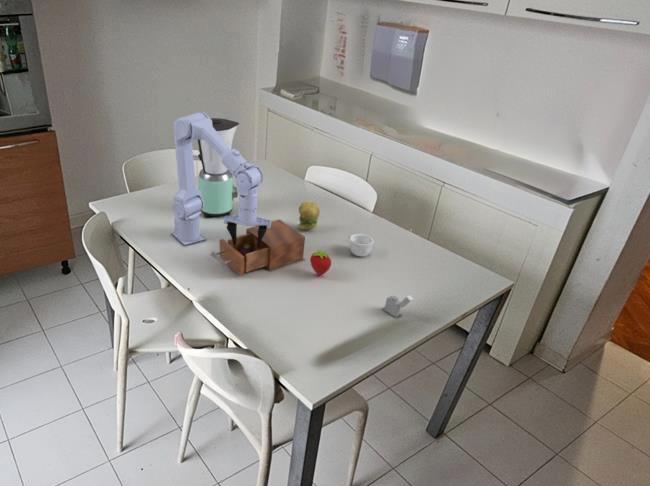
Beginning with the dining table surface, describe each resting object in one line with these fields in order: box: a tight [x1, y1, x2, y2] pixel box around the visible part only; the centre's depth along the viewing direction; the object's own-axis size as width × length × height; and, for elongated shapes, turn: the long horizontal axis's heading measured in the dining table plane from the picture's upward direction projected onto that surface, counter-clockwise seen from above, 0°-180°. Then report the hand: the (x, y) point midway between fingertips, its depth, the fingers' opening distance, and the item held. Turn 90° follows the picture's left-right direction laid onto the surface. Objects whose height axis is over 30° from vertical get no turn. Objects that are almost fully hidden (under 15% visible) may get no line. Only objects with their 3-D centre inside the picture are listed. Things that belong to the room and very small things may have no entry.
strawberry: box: [309, 249, 332, 277], centre depth 163 cm, size 6×8×10 cm
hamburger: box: [297, 201, 321, 231], centre depth 188 cm, size 8×7×12 cm
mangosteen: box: [240, 245, 253, 261], centre depth 168 cm, size 4×4×5 cm
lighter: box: [383, 294, 414, 318], centre depth 148 cm, size 7×2×8 cm, turn 39°
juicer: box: [193, 117, 240, 218], centre depth 193 cm, size 19×13×35 cm
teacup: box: [346, 233, 374, 258], centre depth 178 cm, size 10×8×5 cm
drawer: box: [210, 233, 270, 277], centre depth 167 cm, size 17×13×7 cm
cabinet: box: [245, 219, 306, 271], centre depth 174 cm, size 14×14×9 cm
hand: (246, 245), depth 167 cm, fingers open, 7 cm apart
